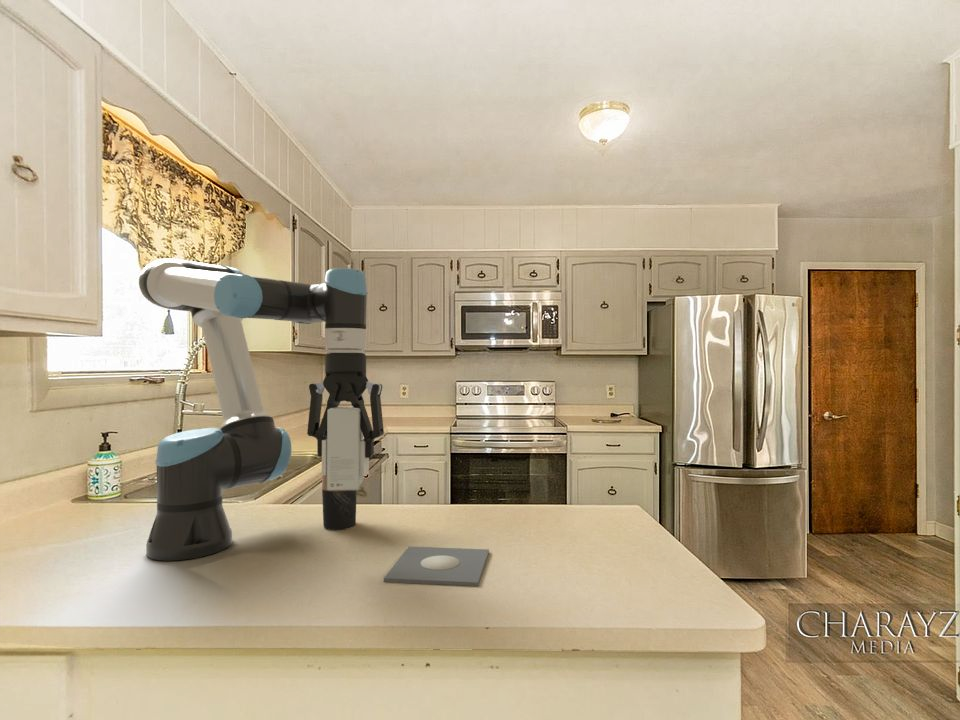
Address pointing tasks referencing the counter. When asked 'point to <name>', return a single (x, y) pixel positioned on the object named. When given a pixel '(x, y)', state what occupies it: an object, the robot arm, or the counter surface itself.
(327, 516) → the travel mug
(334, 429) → the skincare box
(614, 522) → the counter surface
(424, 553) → the mat
